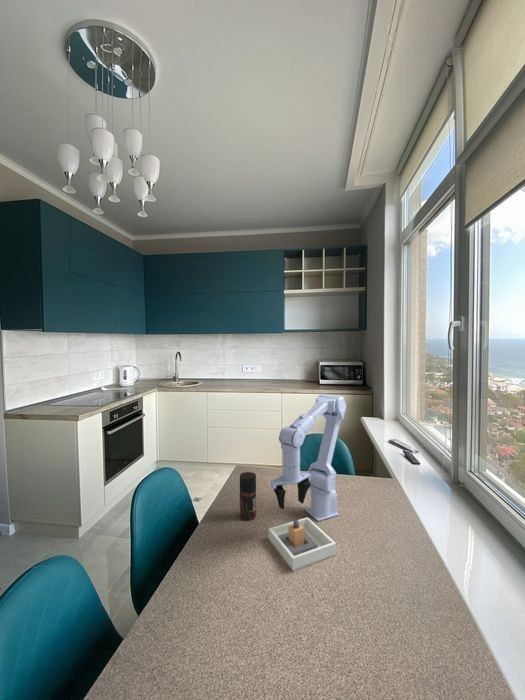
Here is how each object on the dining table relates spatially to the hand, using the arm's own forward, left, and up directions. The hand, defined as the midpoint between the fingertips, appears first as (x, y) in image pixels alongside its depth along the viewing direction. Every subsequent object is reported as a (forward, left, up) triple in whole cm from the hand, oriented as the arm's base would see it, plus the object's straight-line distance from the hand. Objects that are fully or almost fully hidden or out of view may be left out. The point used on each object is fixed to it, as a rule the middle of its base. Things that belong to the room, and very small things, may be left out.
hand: (291, 504), depth 99 cm
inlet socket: (+2, +7, -10) cm, 12 cm away
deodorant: (+9, -16, -10) cm, 21 cm away
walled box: (+1, +7, -10) cm, 12 cm away
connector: (+2, +6, -9) cm, 11 cm away
